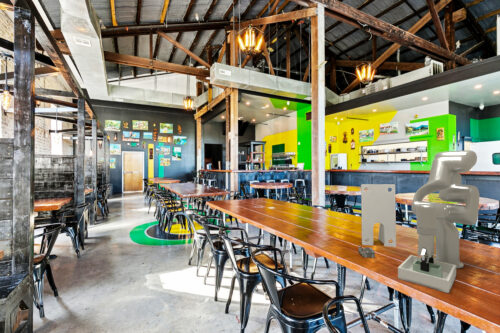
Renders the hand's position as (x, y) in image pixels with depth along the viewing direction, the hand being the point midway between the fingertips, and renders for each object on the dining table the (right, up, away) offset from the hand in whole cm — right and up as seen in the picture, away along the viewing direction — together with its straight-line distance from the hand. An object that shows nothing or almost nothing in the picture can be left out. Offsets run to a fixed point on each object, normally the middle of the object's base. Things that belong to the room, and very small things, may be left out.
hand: (427, 267), depth 109 cm
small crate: (0, -3, 0) cm, 3 cm away
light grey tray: (0, -4, 0) cm, 4 cm away
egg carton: (-14, -5, +29) cm, 33 cm away
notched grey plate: (+3, -5, +51) cm, 51 cm away
